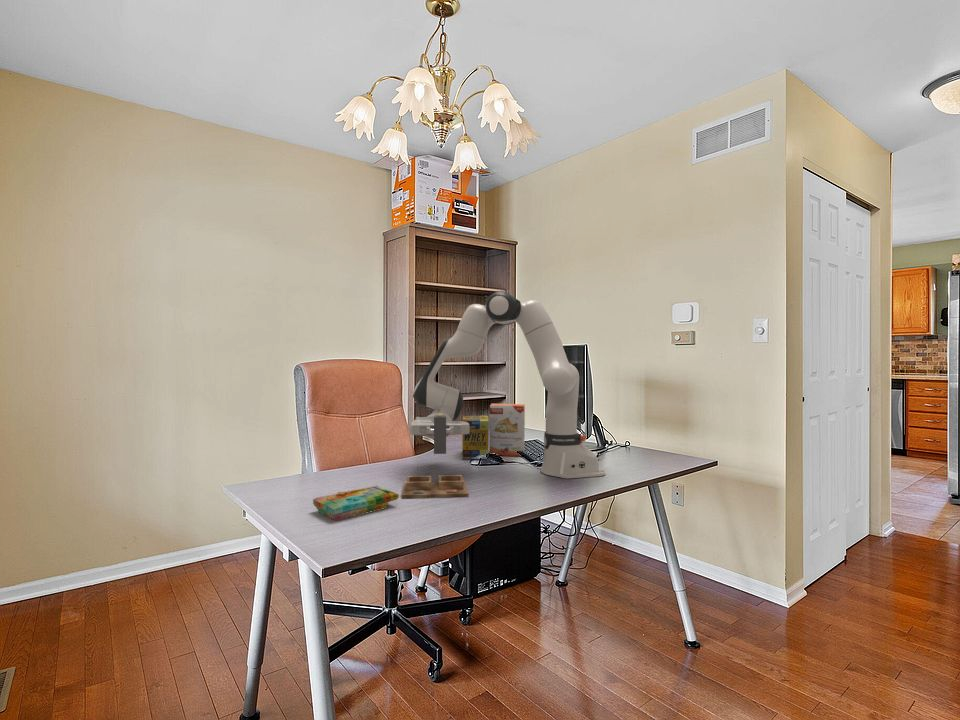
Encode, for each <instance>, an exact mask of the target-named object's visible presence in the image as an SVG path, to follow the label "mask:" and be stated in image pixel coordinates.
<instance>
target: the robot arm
mask: <svg viewBox="0 0 960 720" xmlns="http://www.w3.org/2000/svg"><path fill="white" fill-rule="evenodd" d="M514 323H516V324H517V325H518V326H519V327H520V329H521V331H522V333H523V336H524V337H525V341H526V342H527V344H528V346H529V349H530V351H531V353H532V355H533V358H534V360H535V363H536V367H537V370H538V373H539V375H540V378H541V381H542V384H543V387H544V389H545V390H546V392H547V400H546V408H545V431H544V433H543V434H544V436H543V446H544V447H543V448H544V451H543V452H544V453H543V460H542V461H543V462H542V465H541V468H540V472H541V474H545V475H547V476H552V477H558V478H562V479H579V478H591V477H593V478H594V477H603V476H606V470H605V469H604V468H602V467H601V466H599V460H598V457H597V454H595V453H594V452H593V451H592V450H591V449H590V448H588V447H587V446H586V445H584V444H583V442H586V441H587V437H586V436H585V435H583V434H580V433H579V432H578V430H577V429H578V406H579V405H578V403H579V395H580V394H579V393H580V391H579V389H580V373H579V371H578V369H577V368H576V366H575V365H573V364H572V363H570V362H569V360H568V357H567V353H566V352H565V349H564V346H563V342H562V340H561V337H560V336H559V334H558V332H557V330H556V327H555V324H554V323H553V321H552V319H551V317H550V315H549V313H548V312H547V310H546V309H545V307H544V306H543V304H542V303H541V302H540V300H536V299H528V300H525V301H523V302H521V301H520V300H519V299H518V298H516V297H514V296H513V295H512V294H511V293H509V292H506V291H503V290H502V291H495V292H493V293H492V294H490V295H489V296H488V297H487V300H486V302H485V305H483V304H480V303H472V304H470V305H468V307H466V310H465V311H464V313H463V315H462V317H461V319H460V321H459V324H458V326H457V329H456V331H455V333H454V334H453V335H452V337H450V338H449V339H445V340H443V342H442V343H441V344H440V345H439V348H438V349H437V351H436V353H435V354H434V356H433V358H432V359H431V361H430V363H429V364H428V367H427V368H426V370H425V371H424V373H423V376H422V377H421V378H420V379H419V380H418V381H417V383H416V385H415V386H414V389H413V392H412V398H413V400H414V401H415V403H416V405H418V406H422V407H425V408H426V407H427V408H430V409H433V412H431V413H430V414H428V415H423V416H415V419H414V420H413V421H411V423H410V424H409V425H410V427H409V431H410V432H409V433H410V435H412V436H420V437H421V436H422V437H431V438H434V416H437V414H443V416H446V438H447V437H448V436H449V435H451V436H452V435H462V434H469V432H470V426H469V423H468V422H465V421H463V420H462V421H461V420H460V421H459V420H456V419H458V418H459V416H460V413H461V411H462V410H463V409H462V408H463V403H464V397H463V396H464V395H463V394H462V391H461V390H460V389H457V388H454V387H452V386H450V385H449V386H447V385H446V384H442V383H441V382H440V383H439V382H437V381H435V377H436V375H437V374H438V372H439V370H440V368H441V367H442V365H443V363H444V362H445V361H446V360H449V359H451V358H452V359H453V358H467V357H473V356H476V355H477V354H478V353H480V351H481V350H482V348H483V346H484V343H485V342H486V338H487V336H488V333H489V330H490V328H491V327H492V326H493V325H495V326H510V325H512V324H514ZM455 420H456V421H455Z"/></svg>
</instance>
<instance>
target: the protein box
mask: <svg viewBox="0 0 960 720" xmlns="http://www.w3.org/2000/svg"><path fill="white" fill-rule="evenodd" d="M462 421H465V422H468V423H469V426H470V432H469V434H461V435H462V439H461V440H462V441H461V442H462V448H461V449H462V454H461V456H462V458H461V459H462V460H465V459H472V458H474V457H476V456H478V455H482V454H488V455H489V440H490V420H489V416H488V415H472V414H471V415H463V416H462Z"/></svg>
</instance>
